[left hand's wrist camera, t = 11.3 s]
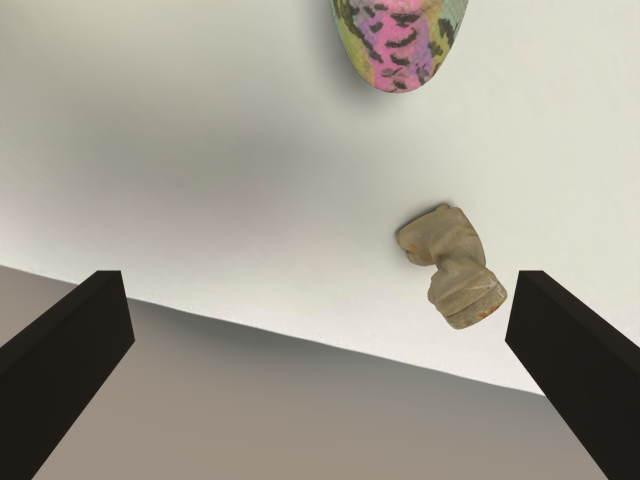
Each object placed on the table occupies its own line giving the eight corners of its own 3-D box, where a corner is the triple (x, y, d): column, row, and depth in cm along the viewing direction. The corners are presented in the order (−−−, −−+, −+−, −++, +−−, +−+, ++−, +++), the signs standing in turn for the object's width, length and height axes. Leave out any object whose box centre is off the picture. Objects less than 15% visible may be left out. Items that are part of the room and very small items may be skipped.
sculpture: (386, 226, 42) (420, 293, 28) (445, 189, 40) (511, 240, 26) (413, 266, 44) (457, 347, 30) (470, 232, 42) (545, 301, 28)
